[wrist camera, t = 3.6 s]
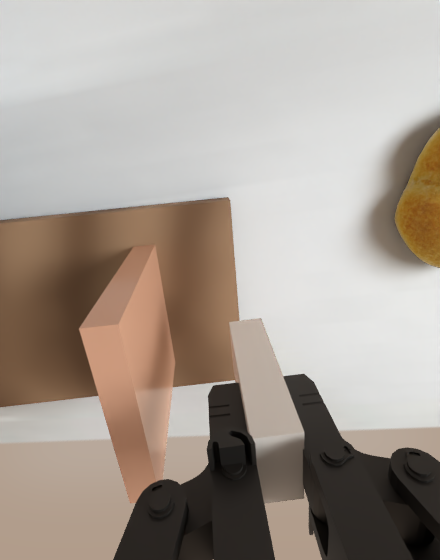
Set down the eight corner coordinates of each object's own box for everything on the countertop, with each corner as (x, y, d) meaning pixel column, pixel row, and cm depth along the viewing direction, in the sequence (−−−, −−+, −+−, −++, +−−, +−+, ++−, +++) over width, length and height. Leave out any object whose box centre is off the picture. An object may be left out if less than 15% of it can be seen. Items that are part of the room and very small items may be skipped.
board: (228, 197, 19) (229, 200, 18) (241, 367, 23) (243, 378, 22) (-90, 229, 18) (-109, 234, 17) (-13, 396, 23) (-24, 409, 22)
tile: (155, 244, 18) (118, 324, 10) (175, 361, 21) (160, 499, 13) (130, 246, 18) (74, 329, 10) (154, 364, 21) (126, 503, 13)
